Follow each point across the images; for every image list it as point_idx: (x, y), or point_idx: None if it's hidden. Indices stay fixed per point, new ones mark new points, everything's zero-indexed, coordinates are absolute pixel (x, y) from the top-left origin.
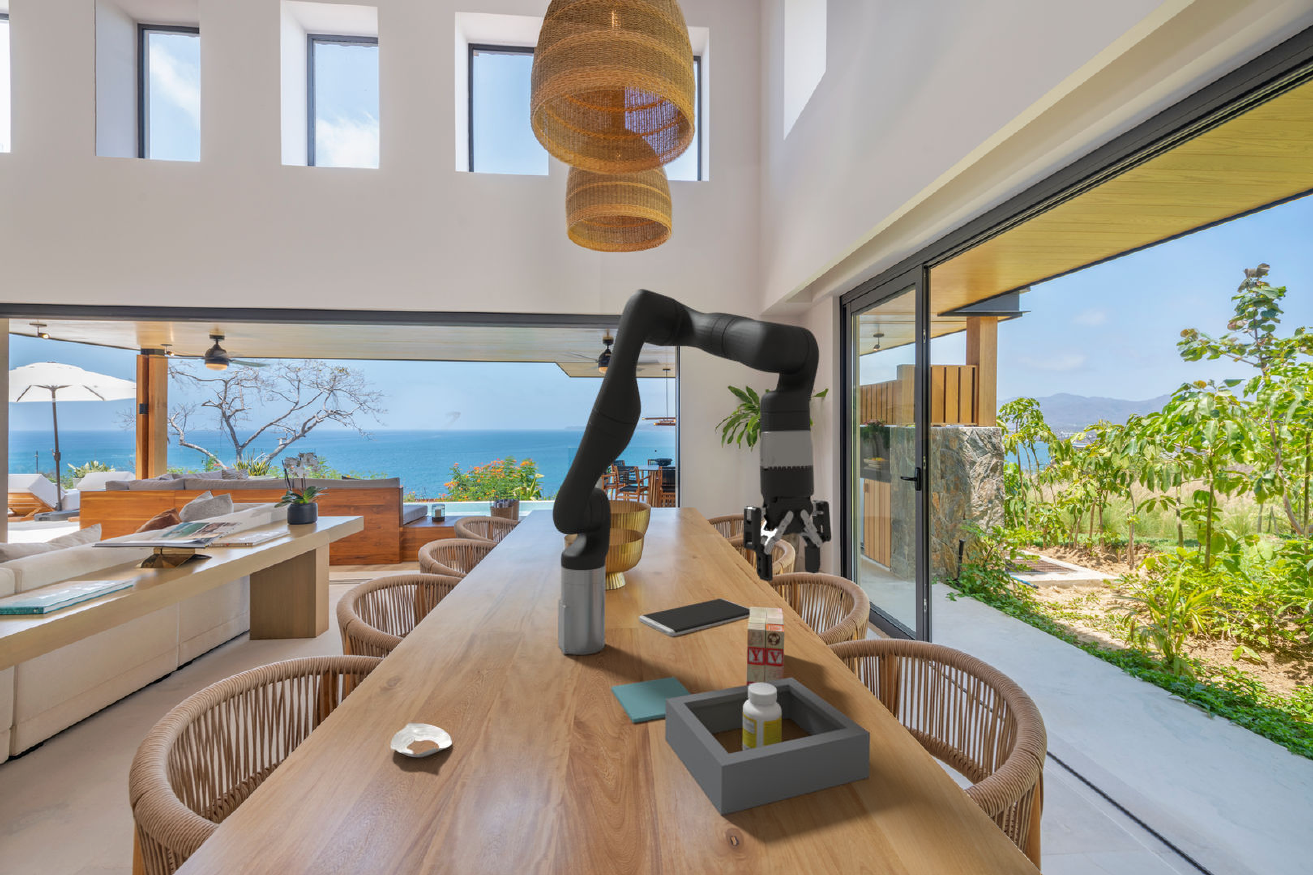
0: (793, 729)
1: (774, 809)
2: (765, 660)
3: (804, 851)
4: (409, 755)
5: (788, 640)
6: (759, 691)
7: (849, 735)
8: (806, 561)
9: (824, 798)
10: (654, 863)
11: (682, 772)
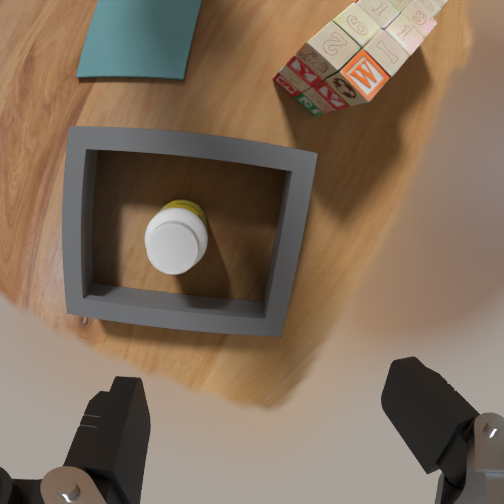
0: (269, 187)
1: None
2: (314, 86)
3: (134, 354)
4: None
5: None
6: (159, 258)
7: (252, 332)
8: (412, 390)
9: None
10: (23, 308)
11: None
